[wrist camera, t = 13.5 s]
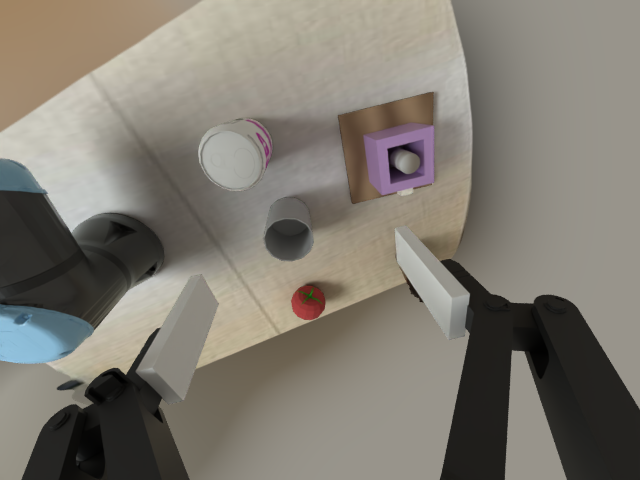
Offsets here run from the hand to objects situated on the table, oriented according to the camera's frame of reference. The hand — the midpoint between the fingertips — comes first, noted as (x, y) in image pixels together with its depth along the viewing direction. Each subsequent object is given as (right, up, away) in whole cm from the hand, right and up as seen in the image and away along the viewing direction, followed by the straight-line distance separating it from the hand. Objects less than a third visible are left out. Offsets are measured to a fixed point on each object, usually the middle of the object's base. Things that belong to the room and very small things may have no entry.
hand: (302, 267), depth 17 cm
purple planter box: (+14, +17, +28) cm, 36 cm away
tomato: (-2, -10, +44) cm, 45 cm away
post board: (+14, +18, +29) cm, 37 cm away
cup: (-5, +7, +34) cm, 35 cm away
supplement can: (-11, +19, +26) cm, 34 cm away
